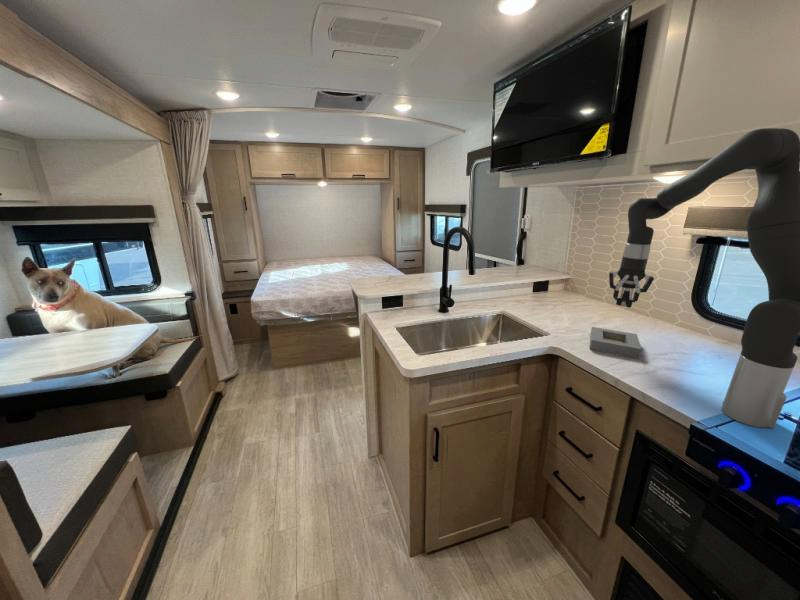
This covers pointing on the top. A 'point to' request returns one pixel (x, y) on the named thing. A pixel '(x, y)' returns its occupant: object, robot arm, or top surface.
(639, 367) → the top surface
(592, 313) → the top surface
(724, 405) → the robot arm
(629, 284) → the push button
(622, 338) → the housing
